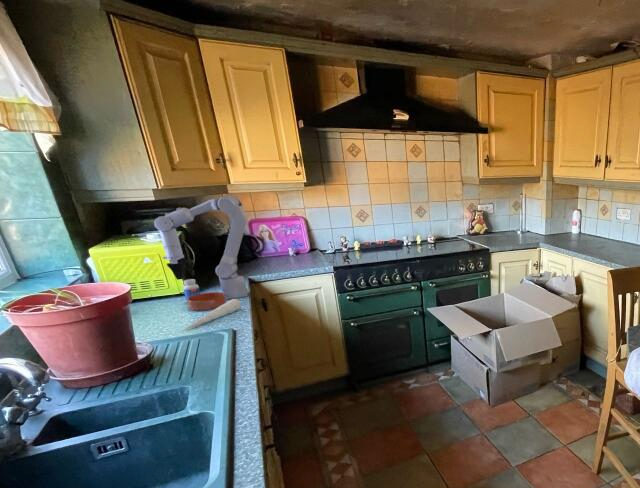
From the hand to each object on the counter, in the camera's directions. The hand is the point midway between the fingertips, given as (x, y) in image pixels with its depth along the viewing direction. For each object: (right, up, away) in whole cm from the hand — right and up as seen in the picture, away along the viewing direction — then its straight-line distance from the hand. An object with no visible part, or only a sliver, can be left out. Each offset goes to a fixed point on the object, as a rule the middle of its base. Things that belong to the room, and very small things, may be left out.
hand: (181, 277), depth 180 cm
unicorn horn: (+28, -18, -18) cm, 38 cm away
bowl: (+15, -13, -4) cm, 20 cm away
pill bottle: (+5, -11, +1) cm, 12 cm away
